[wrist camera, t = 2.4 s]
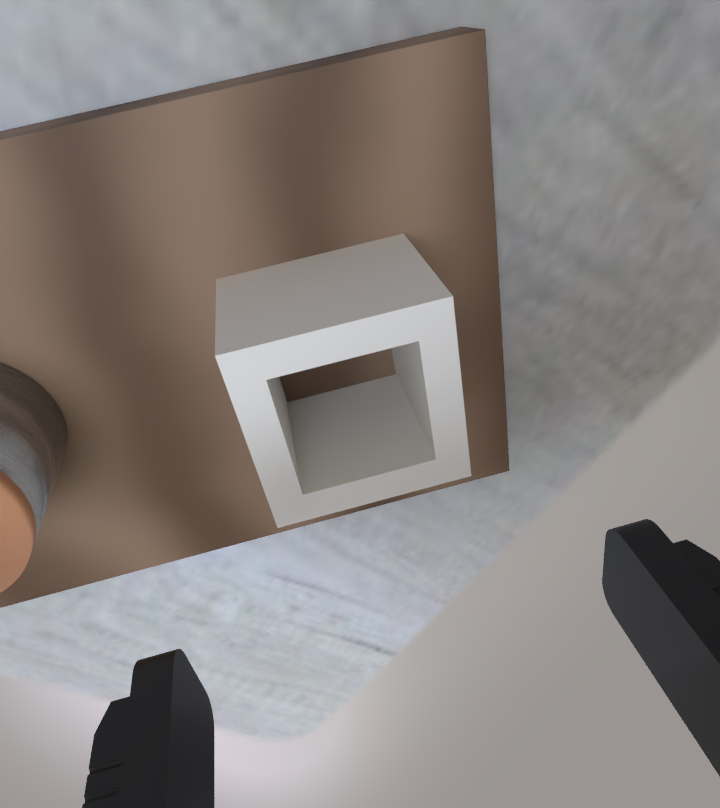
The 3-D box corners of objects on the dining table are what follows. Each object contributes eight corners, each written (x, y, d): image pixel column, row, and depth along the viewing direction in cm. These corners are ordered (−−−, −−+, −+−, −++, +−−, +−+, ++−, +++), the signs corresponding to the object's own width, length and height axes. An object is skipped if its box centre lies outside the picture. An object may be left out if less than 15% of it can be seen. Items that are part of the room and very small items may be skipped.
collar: (403, 233, 19) (453, 296, 15) (425, 390, 23) (471, 476, 19) (216, 279, 19) (215, 355, 15) (267, 431, 22) (277, 527, 18)
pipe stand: (461, 26, 18) (741, 57, 9) (491, 442, 27) (645, 690, 18) (-372, 216, 17) (-1185, 512, 7) (-52, 587, 26) (-217, 944, 16)
